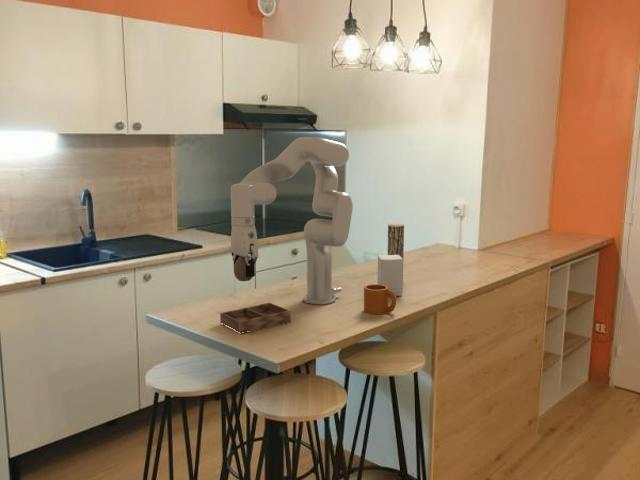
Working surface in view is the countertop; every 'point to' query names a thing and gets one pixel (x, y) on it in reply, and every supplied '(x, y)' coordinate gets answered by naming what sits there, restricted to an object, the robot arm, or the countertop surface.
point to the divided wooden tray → (255, 317)
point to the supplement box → (391, 272)
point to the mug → (378, 299)
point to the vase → (241, 269)
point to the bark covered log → (396, 239)
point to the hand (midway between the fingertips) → (244, 274)
